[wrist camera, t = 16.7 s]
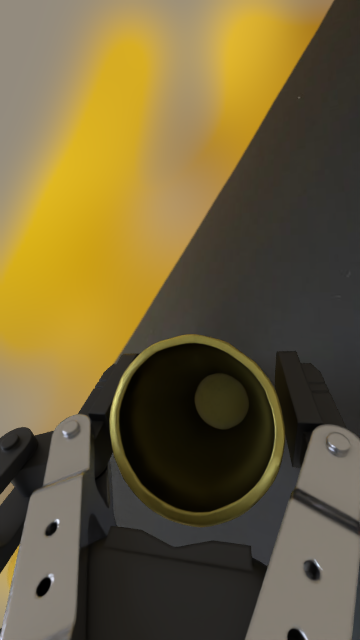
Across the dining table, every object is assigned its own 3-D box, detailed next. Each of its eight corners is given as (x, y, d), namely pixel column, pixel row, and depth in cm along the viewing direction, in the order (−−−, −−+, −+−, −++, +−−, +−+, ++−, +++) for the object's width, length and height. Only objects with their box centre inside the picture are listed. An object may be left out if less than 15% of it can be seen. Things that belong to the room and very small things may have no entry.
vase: (198, 353, 22) (137, 298, 9) (269, 377, 20) (330, 354, 7) (175, 422, 21) (63, 482, 8) (247, 453, 19) (269, 605, 6)
